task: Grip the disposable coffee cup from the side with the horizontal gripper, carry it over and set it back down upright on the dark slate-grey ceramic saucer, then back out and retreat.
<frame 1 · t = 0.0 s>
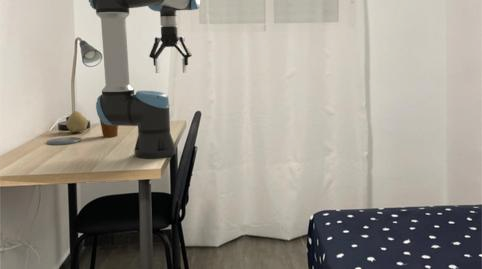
hand: (171, 72, 220), 28 cm above the table, tool pointing down, fingers open, 13 cm apart
tan rounded lump: (77, 133, 228), on the table
disposable coffee cup: (110, 136, 215), on the table
saucer: (64, 141, 203), on the table
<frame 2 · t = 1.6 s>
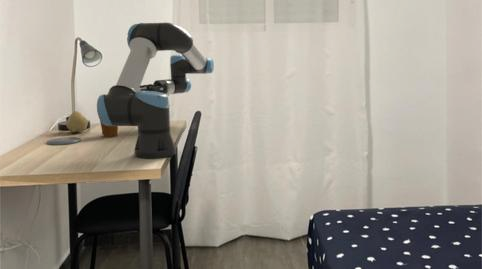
hand: (126, 90, 219), 20 cm above the table, tool horizontal, fingers open, 13 cm apart
nothing on the table moved.
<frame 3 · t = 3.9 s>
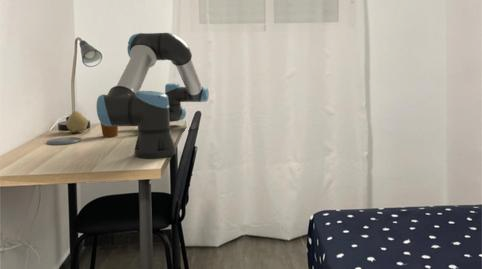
hand: (120, 121, 219), 6 cm above the table, tool horizontal, fingers open, 13 cm apart
nothing on the table moved.
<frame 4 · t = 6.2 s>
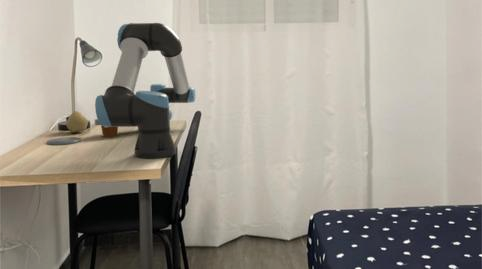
hand: (99, 123, 211), 7 cm above the table, tool horizontal, fingers closed on disposable coffee cup, 8 cm apart
disposable coffee cup: (110, 136, 215), on the table, touching gripper
everything else where it was.
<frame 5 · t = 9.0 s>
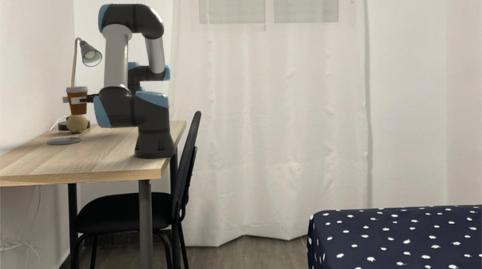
hand: (67, 100, 203), 18 cm above the table, tool horizontal, fingers closed on disposable coffee cup, 8 cm apart
disposable coffee cup: (79, 114, 207), point 11 cm above the table, touching gripper
everything else where it was.
when the fingers open (8 cm above the table, at t = 12.0 s): disposable coffee cup stays where it is, resting on saucer.
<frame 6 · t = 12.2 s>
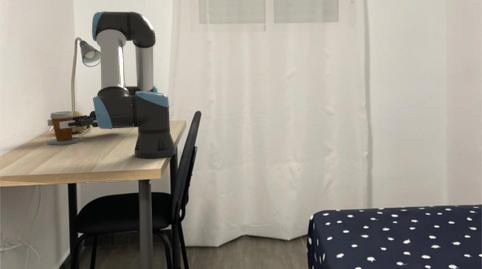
hand: (53, 124, 199), 8 cm above the table, tool horizontal, fingers open, 11 cm apart
disposable coffee cup: (64, 140, 203), point 1 cm above the table, touching saucer
everything else where it was.
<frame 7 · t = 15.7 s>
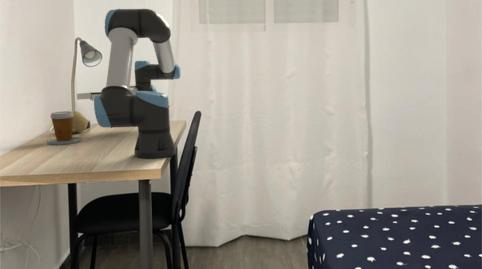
hand: (84, 97, 208), 19 cm above the table, tool horizontal, fingers open, 13 cm apart
nothing on the table moved.
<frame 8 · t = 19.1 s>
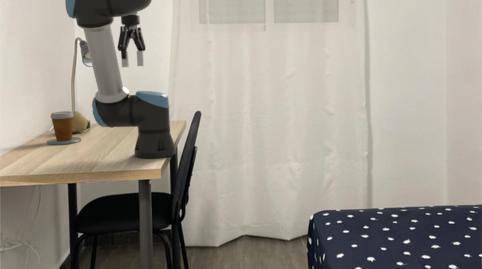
hand: (133, 66, 198), 32 cm above the table, tool pointing down, fingers open, 13 cm apart
nothing on the table moved.
at the end: disposable coffee cup inside the target area on the saucer (0.1 cm from its centre), point 0.6 cm above the saucer's base; disposable coffee cup tilted 0°; the gripper is holding nothing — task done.
